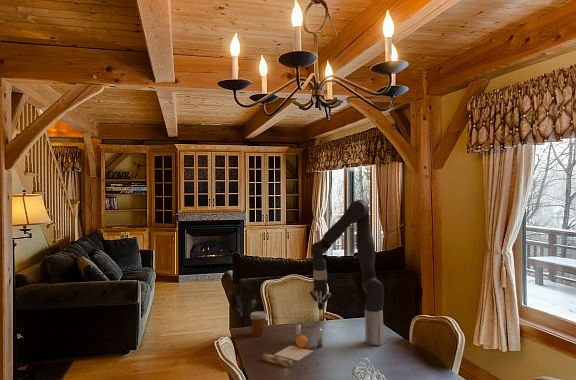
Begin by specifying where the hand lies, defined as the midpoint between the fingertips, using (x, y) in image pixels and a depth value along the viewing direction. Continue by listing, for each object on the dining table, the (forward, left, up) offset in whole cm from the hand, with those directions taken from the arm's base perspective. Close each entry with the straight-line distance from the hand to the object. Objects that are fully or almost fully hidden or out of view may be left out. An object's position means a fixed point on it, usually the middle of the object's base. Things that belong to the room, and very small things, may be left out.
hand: (320, 309), depth 225 cm
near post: (-6, +13, -15) cm, 21 cm away
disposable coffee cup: (+32, +15, -15) cm, 38 cm away
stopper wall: (0, +41, -15) cm, 44 cm away
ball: (+1, +19, -12) cm, 22 cm away
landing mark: (0, +27, -15) cm, 31 cm away
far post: (+6, +13, -15) cm, 21 cm away
